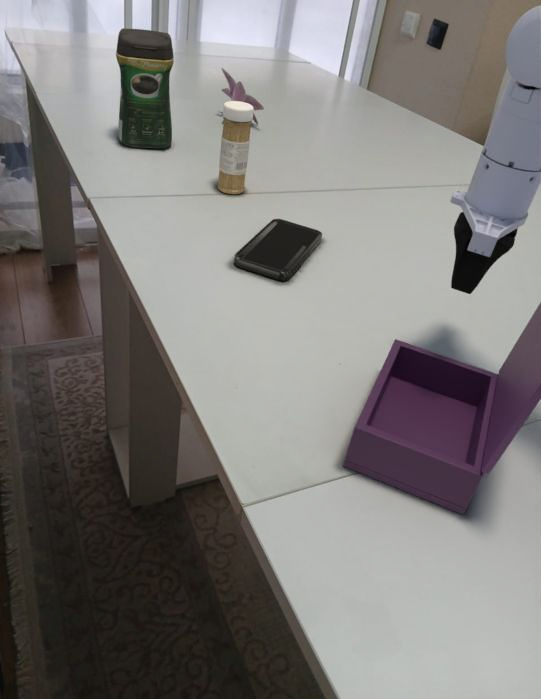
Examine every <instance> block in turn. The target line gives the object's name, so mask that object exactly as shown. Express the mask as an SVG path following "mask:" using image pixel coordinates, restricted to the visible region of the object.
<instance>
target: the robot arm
mask: <svg viewBox="0 0 541 699" xmlns="http://www.w3.org/2000/svg"><path fill="white" fill-rule="evenodd" d="M504 52H505V53H504V54H505V64H506V68H507V71H508V73H509V77H508V80H507V82H506V85H505V88H504V89H503V93H502V96H501V98H500V101H499V103H498V106H497V109H496V111H495V115H494V117H493V120H492V122H491V126H490V128H489V131H488V134H487V137H486V139H485V142H484V144H483V147H482V150H481V152H480V155H479V158H478V161H477V163H476V166H475V169H474V172H473V174H472V177H471V180H470V183H469V185H468V188H467V190H466V191H462V190H458V189H456V190H454V191H453V193H452V194H451V197H450V200H449V202H450V203H451V204H453V205H457V206H458V207H460V208H461V210H462V211H461V212H459V215H458V216H457V219H456V221H455V223H454V226H453V236H454V241H455V257H454V258H455V259H454V264H453V269H452V274H451V281H450V282H451V283H450V288H451V289H453V290H455V291H458V292H462V293H465V294H468V295H471V294H472V293H473V292H474V291H475V289H477V287H478V286H479V284H480V282H481V281H482V280H483V278H484V277H485V275H486V274H487V272H488V271H489V270H490V269H491V268H492V266H493V265H494V264H495V263H496V262H497V261H498V260H499V259H501V257H503V256H504V255H505V254H507V253H508V252H510V250H512V248H513V247H514V245H515V242H516V237H517V234H518V229H519V228H520V227H522V226H524V225H525V224H526V222H527V219H528V217H529V212H528V211H529V209H530V207H531V205H532V202H533V200H534V198H535V196H536V193H537V191H538V190H539V186H541V5H537V6H535V7H533V8H531V9H529V10H527V11H526V12H524V14H523V15H521V16H520V18H518V19H517V21H516V22H515V24H514V25H513V27H512V29H511V30H510V31H509V34H508V38H507V41H506V45H505V51H504Z"/></svg>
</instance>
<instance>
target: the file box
mask: <svg viewBox="0 0 541 699" xmlns="http://www.w3.org/2000/svg"><path fill="white" fill-rule="evenodd" d="M498 374H499V373H496V372H492V371H490V370H487V369H485V368H481V367H478V366H476V365H472V364H469V363H467V362H463V361H460V360H457V359H454V358H452V357H449V356H446V355H444V354H440V353H437V352H435V351H431V350H430V349H426V348H422V347H419V346H417V345H414V344H411V343H408V342H405V341H403V340H399V339H397V338H395V339H394V341H393V342H392V345H391V347H390V349H389V352H388V353H387V356H386V358H385V360H384V361H383V365H382V367H381V369H380V371H379V373H378V375H377V378H376V380H375V382H374V384H373V386H372V388H371V391H370V392H369V394H368V397H367V399H366V401H365V403H364V406H363V408H362V410H361V412H360V415H359V416H358V418H357V421H356V423H355V425H354V427H353V432H352V434H351V438H350V441H349V444H348V448H347V450H346V455H345V457H344V461H343V464H342V467H345V468H347V469H349V470H351V471H354V472H357V473H359V474H362V475H363V476H366V477H369V478H371V479H374V480H376V481H378V482H381V483H384V484H386V485H389V486H391V487H393V488H396V489H398V490H401V491H404V492H405V493H408V494H410V495H413V496H416V497H418V498H421V499H423V500H426V501H428V502H431V503H432V504H435V505H438V506H440V507H443V508H445V509H448V510H450V511H453V512H454V513H458V514H460V515H464V514H465V511H466V510H467V508H468V506H469V504H470V502H471V500H472V499H473V496H474V494H475V492H476V491H477V489H478V487H479V485H480V483H481V481H482V479H483V477H484V473H483V472H481V470H482V464H483V458H484V453H485V447H486V442H487V436H488V430H489V425H490V419H491V413H492V408H493V402H494V396H495V391H496V385H497V379H498Z"/></svg>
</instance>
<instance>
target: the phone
mask: <svg viewBox="0 0 541 699" xmlns="http://www.w3.org/2000/svg"><path fill="white" fill-rule="evenodd" d="M322 239H323V233H322V231H320V230H319V229H316V228H312V227H309V226H305V225H302V224H298V223H295V222H292V221H289V220H286V219H281V218H273V219H271V220H270V222H269V223H267V224H266V225H265V226H264V227H263V228H261V230H259V232H257V233H256V234H255V235H254V236H253V237H252V238H251V239H250V240H249V241H248V242H247V243H245V245H243V246H242V247H240V249H239V250H238V251H237V252H235V254H234V258H233V259H234V260H233V265H234V266H235V267H237V268H239V269H241V270H242V269H243V270H246V271H249V272H252V273H255V274H258V275H260V276H264V277H267V278H270V279H273V280H275V281H280V282H286V281H289V280H290V279H291V278H292V277H293V276H294V275H295V273H296V272H297V271H298V270H299V269H300V268H301V266H302V265H303V263H305V261H306V260H307V259H308V258H309V256H310V255H311V254H312V253H313V251H314V250H315V249H317V247H318V246H319V244H321V241H322Z"/></svg>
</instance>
